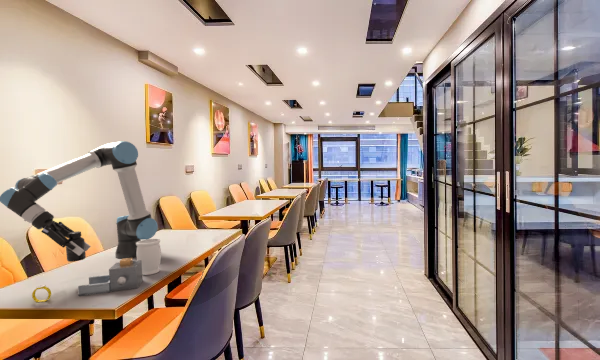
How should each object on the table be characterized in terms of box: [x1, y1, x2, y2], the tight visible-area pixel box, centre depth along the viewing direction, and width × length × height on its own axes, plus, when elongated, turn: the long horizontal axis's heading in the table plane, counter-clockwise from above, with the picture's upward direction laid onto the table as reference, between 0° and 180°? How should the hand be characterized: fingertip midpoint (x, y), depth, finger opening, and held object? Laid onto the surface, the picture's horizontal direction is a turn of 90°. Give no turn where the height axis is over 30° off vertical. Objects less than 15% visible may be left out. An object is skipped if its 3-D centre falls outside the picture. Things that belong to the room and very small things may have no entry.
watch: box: [31, 284, 52, 303], centre depth 127 cm, size 6×3×6 cm, turn 98°
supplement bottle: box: [65, 231, 87, 263], centre depth 145 cm, size 7×7×12 cm
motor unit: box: [77, 257, 144, 297], centre depth 138 cm, size 14×21×11 cm, turn 104°
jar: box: [136, 238, 162, 276], centre depth 157 cm, size 11×10×15 cm
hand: (85, 250), depth 146 cm, fingers closed on supplement bottle, 7 cm apart
